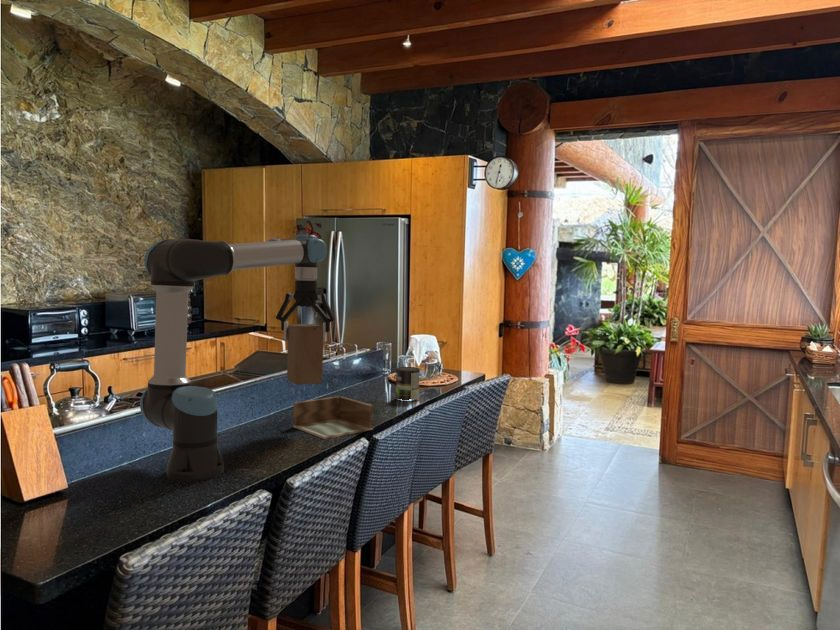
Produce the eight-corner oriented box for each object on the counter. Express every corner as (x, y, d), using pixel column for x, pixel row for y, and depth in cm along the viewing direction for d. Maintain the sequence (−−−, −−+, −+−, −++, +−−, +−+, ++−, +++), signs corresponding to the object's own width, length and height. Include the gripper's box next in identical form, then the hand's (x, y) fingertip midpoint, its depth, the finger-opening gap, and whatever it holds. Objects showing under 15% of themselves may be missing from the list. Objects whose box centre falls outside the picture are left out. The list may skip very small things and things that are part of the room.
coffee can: (399, 404, 269) (399, 370, 268) (392, 399, 279) (393, 366, 278) (422, 402, 272) (422, 370, 271) (415, 398, 282) (415, 366, 281)
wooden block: (323, 383, 221) (324, 325, 220) (295, 385, 216) (296, 326, 215) (313, 379, 230) (314, 323, 229) (286, 380, 225) (286, 324, 224)
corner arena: (325, 439, 212) (325, 413, 211) (293, 427, 227) (293, 402, 226) (372, 430, 225) (373, 405, 225) (340, 419, 240) (340, 395, 240)
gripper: (344, 280, 224) (343, 340, 225) (274, 278, 226) (273, 338, 228) (339, 280, 217) (338, 343, 218) (267, 279, 219) (266, 340, 220)
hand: (305, 341), depth 223 cm, fingers closed on wooden block, 13 cm apart
